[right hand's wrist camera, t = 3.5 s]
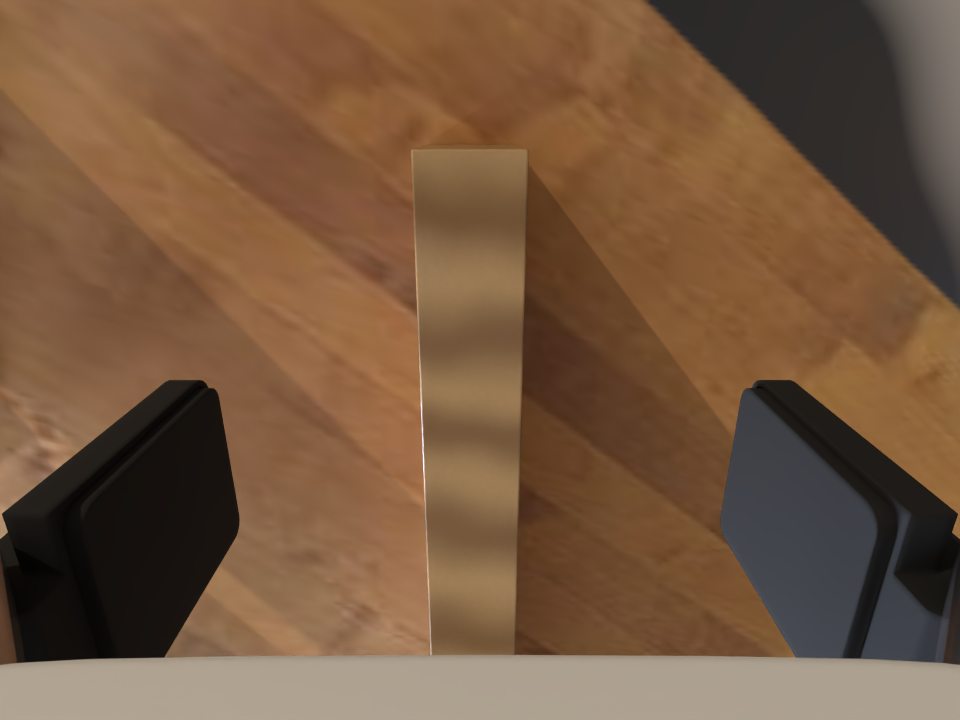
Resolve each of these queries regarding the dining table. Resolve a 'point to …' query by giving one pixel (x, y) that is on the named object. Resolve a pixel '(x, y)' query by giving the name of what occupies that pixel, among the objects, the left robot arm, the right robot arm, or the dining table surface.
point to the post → (471, 386)
